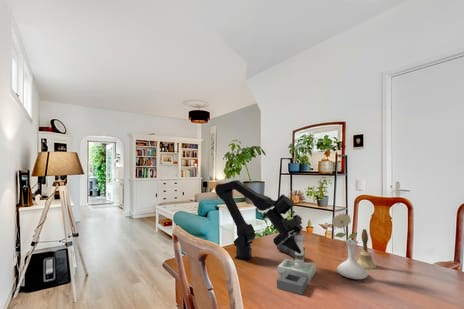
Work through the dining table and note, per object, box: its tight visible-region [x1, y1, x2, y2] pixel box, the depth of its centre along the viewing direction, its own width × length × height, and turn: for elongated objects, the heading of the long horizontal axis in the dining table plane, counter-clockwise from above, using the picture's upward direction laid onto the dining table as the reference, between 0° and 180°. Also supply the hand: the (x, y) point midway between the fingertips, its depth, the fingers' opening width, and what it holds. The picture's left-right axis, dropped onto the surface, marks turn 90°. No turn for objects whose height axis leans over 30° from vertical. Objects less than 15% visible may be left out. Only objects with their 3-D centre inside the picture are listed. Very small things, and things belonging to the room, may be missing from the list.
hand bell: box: [356, 228, 377, 270], centre depth 111 cm, size 8×8×16 cm
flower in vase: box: [331, 212, 369, 280], centre depth 101 cm, size 13×11×25 cm
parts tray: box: [277, 258, 317, 283], centre depth 103 cm, size 13×10×3 cm
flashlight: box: [276, 241, 306, 259], centre depth 123 cm, size 15×5×5 cm, turn 29°
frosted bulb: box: [294, 233, 305, 269], centre depth 102 cm, size 4×4×13 cm
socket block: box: [276, 271, 309, 296], centre depth 91 cm, size 9×9×3 cm
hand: (302, 251), depth 102 cm, fingers closed on frosted bulb, 3 cm apart
